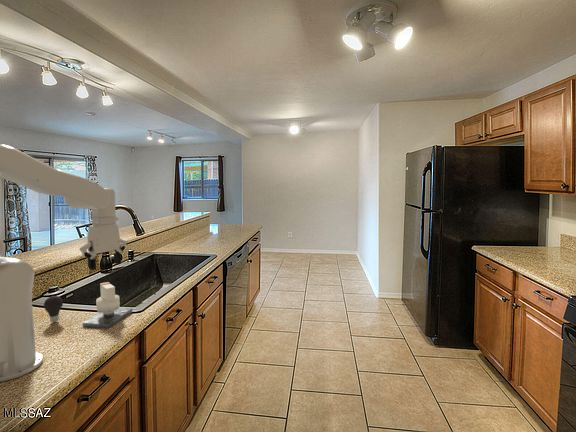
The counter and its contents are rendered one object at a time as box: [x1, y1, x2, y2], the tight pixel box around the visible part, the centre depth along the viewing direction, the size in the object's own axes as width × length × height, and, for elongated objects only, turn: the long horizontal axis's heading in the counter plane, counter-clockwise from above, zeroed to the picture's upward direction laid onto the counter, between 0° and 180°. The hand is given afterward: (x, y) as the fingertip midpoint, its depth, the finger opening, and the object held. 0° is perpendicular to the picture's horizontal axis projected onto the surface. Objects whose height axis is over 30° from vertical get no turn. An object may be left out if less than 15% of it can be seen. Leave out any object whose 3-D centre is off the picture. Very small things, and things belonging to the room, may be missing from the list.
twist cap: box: [95, 281, 121, 313], centre depth 115 cm, size 8×8×9 cm
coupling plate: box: [82, 307, 133, 329], centre depth 116 cm, size 14×10×4 cm
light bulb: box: [43, 295, 64, 323], centre depth 112 cm, size 6×6×10 cm
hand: (105, 266), depth 113 cm, fingers open, 9 cm apart
